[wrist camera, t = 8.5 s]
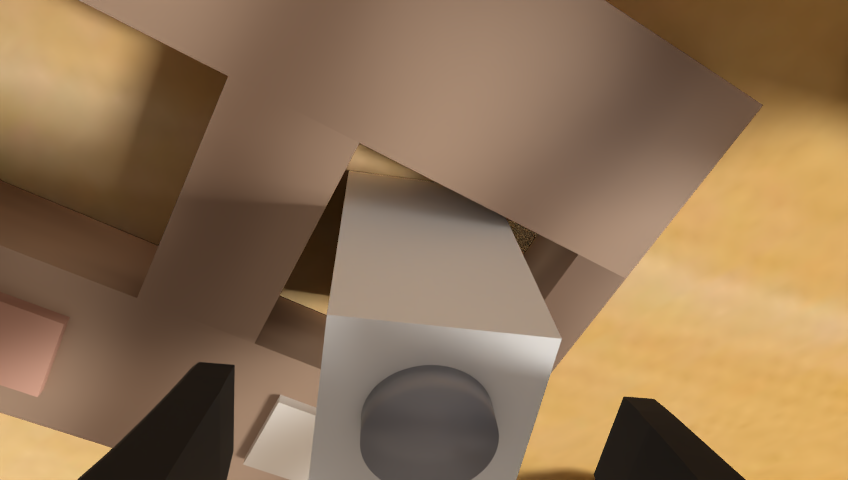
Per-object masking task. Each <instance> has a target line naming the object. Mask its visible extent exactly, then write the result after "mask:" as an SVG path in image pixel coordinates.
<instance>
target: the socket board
mask: <svg viewBox="0 0 848 480" xmlns="http://www.w3.org/2000/svg"><path fill="white" fill-rule="evenodd" d="M79 1H81V2H83V3H85V4H87V5H89V6H91V7H93V8H95V9H97V10H99V11H101V12H103V13H105V14H107V15H109V16H111V17H113V18H115V19H117V20H118V21H120V22H122V23H124V24H126V25H128V26H130V27H132V28H134V29H136V30H138V31H140V32H142V33H144V34H146V35H148V36H150V37H152V38H154V39H156V40H158V41H160V42H162V43H164V44H166V45H168V46H170V47H172V48H174V49H176V50H177V51H179V52H181V53H183V54H185V55H187V56H189V57H191V58H193V59H195V60H197V61H199V62H201V63H203V64H205V65H207V66H209V67H211V68H213V69H215V70H217V71H219V72H221V73H223V74H225V75H227V76H228V78H227V80H226V83H225V85H224V88H223V90H222V93H221V95H220V97H219V100H218V102H217V105H216V107H215V110H214V112H213V114H212V117H211V119H210V122H209V124H208V127H207V129H206V131H205V134H204V136H203V139H202V141H201V144H200V146H199V149H198V151H197V153H196V156H195V158H194V161H193V163H192V166H191V168H190V170H189V173H188V175H187V178H186V180H185V183H184V185H183V187H182V190H181V192H180V195H179V197H178V200H177V202H176V205H175V207H174V209H173V212H172V214H171V217H170V219H169V222H168V224H167V226H166V229H165V231H164V234H163V236H162V239H161V241H160V243H159V246H157V245H155V244H153V243H150V242H148V241H145V240H143V239H140V238H138V237H136V236H133V235H131V234H128V233H126V232H124V231H121V230H119V229H116V228H114V227H112V226H109V225H107V224H104V223H102V222H99V221H97V220H95V219H92V218H90V217H87V216H85V215H83V214H80V213H78V212H75V211H73V210H70V209H68V208H66V207H63V206H61V205H58V204H56V203H54V202H51V201H49V200H46V199H44V198H42V197H39V196H37V195H34V194H32V193H29V192H27V191H25V190H22V189H20V188H17V187H15V186H13V185H10V184H8V183H5V182H3V181H1V180H0V413H3V414H7V415H10V416H13V417H16V418H19V419H22V420H26V421H29V422H32V423H35V424H38V425H42V426H45V427H48V428H51V429H54V430H57V431H61V432H64V433H67V434H70V435H73V436H76V437H80V438H83V439H86V440H89V441H92V442H95V443H99V444H102V445H105V446H108V447H111V448H113V447H114V446H115V445H116V444H118V443H119V442H120V441H121V440H122V439H123V438H124V437H125V436H126V435H127V434H128V433H129V432H130V431H131V430H132V429H133V428H134V427H135V426H136V425H137V424H138V423H139V422H140V421H141V420H142V419H143V418H144V417H145V416H146V415H147V414H148V413H149V412H150V411H151V410H152V409H153V408H154V407H155V406H156V405H157V404H158V403H159V402H160V401H161V400H162V399H163V398H164V397H165V396H166V395H167V394H168V393H169V392H170V391H171V389H172V388H173V387H174V386H175V385H176V384H177V383H178V382H179V381H180V380H181V379H182V378H183V376H184V375H185V374H186V373H187V372H188V371H189V370H190V369H191V368H192V367H193V366H194V365H195V364H197V363H198V362H206V363H219V364H231V365H235V382H234V451H233V455H232V460H231V464H230V468H229V472H228V477H227V480H308V479H309V470H310V462H311V453H312V444H313V435H314V426H315V417H316V408H317V399H318V390H319V381H320V372H321V363H322V354H323V345H324V336H325V327H326V318H327V316H326V315H324V314H321V313H319V312H317V311H314V310H312V309H309V308H307V307H305V306H302V305H300V304H297V303H295V302H292V301H290V300H288V299H285V298H283V297H280V294H281V292H282V290H283V288H284V286H285V284H286V282H287V280H288V278H289V277H290V275H291V273H292V271H293V269H294V267H295V265H296V263H297V261H298V259H299V257H300V256H301V254H302V252H303V250H304V248H305V246H306V244H307V242H308V240H309V238H310V236H311V235H312V233H313V231H314V229H315V227H316V225H317V223H318V221H319V219H320V217H321V215H322V214H323V212H324V210H325V208H326V206H327V204H328V202H329V200H330V198H331V196H332V194H333V193H334V191H335V189H336V187H337V185H338V183H339V181H340V179H341V177H342V175H343V173H344V172H345V170H346V168H347V166H348V164H349V162H350V160H351V158H352V156H353V154H354V152H355V151H356V149H357V147H358V145H359V143H360V144H362V145H364V146H366V147H368V148H370V149H372V150H374V151H376V152H378V153H380V154H382V155H384V156H386V157H388V158H390V159H392V160H394V161H396V162H398V163H400V164H402V165H404V166H406V167H408V168H410V169H411V170H413V171H415V172H417V173H419V174H421V175H423V176H425V177H427V178H429V179H431V180H433V181H435V182H437V183H439V184H441V185H443V186H445V187H447V188H449V189H451V190H453V191H455V192H457V193H459V194H461V195H463V196H465V197H467V198H469V199H470V200H472V201H474V202H476V203H478V204H480V205H482V206H484V207H486V208H488V209H490V210H492V211H494V212H496V213H498V214H500V215H502V216H504V217H506V218H508V219H510V220H512V221H514V222H516V223H518V224H520V225H522V226H524V227H526V228H528V229H529V230H531V231H533V232H535V233H537V234H538V235H537V236H536V238H535V239H534V240H533V242H532V243H531V245H530V246H529V248H528V249H527V250H526V252H525V253H524V255H523V256H524V258H525V260H526V262H527V265H528V267H529V269H530V271H531V273H532V275H533V278H534V280H535V282H536V284H537V286H538V288H539V290H540V293H541V295H542V297H543V299H544V301H545V303H546V306H547V308H548V310H549V312H550V314H551V316H552V319H553V321H554V323H555V325H556V327H557V329H558V332H559V334H560V336H561V338H562V340H561V343H560V346H559V349H558V352H557V355H556V358H555V361H554V365H553V368H552V371H553V370H554V369H555V367H556V366H557V365H558V364H559V362H560V361H561V360H562V359H563V357H564V356H565V355H566V354H567V352H568V351H569V350H570V348H571V347H572V346H573V345H574V343H575V342H576V341H577V340H578V338H579V337H580V336H581V335H582V333H583V332H584V331H585V330H586V328H587V327H588V326H589V324H590V323H591V322H592V321H593V319H594V318H595V317H596V316H597V314H598V313H599V312H600V311H601V309H602V308H603V307H604V305H605V304H606V303H607V302H608V300H609V299H610V298H611V297H612V295H613V294H614V293H615V292H616V290H617V289H618V288H619V287H620V285H621V284H622V283H623V281H624V280H625V279H626V278H627V276H628V275H629V274H630V273H631V271H632V270H633V269H634V268H635V266H636V265H637V264H638V263H639V261H640V260H641V259H642V257H643V256H644V255H645V254H646V252H647V251H648V250H649V249H650V247H651V246H652V245H653V244H654V242H655V241H656V240H657V238H658V237H659V236H660V235H661V233H662V232H663V231H664V230H665V228H666V227H667V226H668V225H669V223H670V222H671V221H672V220H673V218H674V217H675V216H676V214H677V213H678V212H679V211H680V209H681V208H682V207H683V206H684V204H685V203H686V202H687V201H688V199H689V198H690V197H691V196H692V194H693V193H694V192H695V190H696V189H697V188H698V187H699V185H700V184H701V183H702V182H703V180H704V179H705V178H706V177H707V175H708V174H709V173H710V171H711V170H712V169H713V168H714V166H715V165H716V164H717V163H718V161H719V160H720V159H721V158H722V156H723V155H724V154H725V153H726V151H727V150H728V149H729V147H730V146H731V145H732V144H733V142H734V141H735V140H736V139H737V137H738V136H739V135H740V134H741V132H742V131H743V130H744V129H745V127H746V126H747V125H748V123H749V122H750V121H751V120H752V118H753V117H754V116H755V115H756V113H757V112H758V111H759V110H760V108H761V107H762V106H763V105H762V104H760V103H759V102H757V101H756V100H754V99H753V98H751V97H750V96H748V95H747V94H745V93H744V92H742V91H741V90H739V89H738V88H736V87H735V86H733V85H732V84H730V83H729V82H727V81H726V80H724V79H723V78H721V77H720V76H718V75H717V74H715V73H714V72H712V71H711V70H709V69H708V68H706V67H705V66H703V65H702V64H700V63H699V62H697V61H696V60H694V59H693V58H691V57H690V56H688V55H687V54H685V53H684V52H682V51H681V50H679V49H678V48H676V47H674V46H673V45H671V44H670V43H668V42H667V41H665V40H664V39H662V38H661V37H659V36H658V35H656V34H655V33H653V32H652V31H650V30H649V29H647V28H646V27H644V26H643V25H641V24H640V23H638V22H637V21H635V20H634V19H632V18H631V17H629V16H628V15H626V14H625V13H623V12H622V11H620V10H619V9H617V8H616V7H614V6H613V5H611V4H610V3H608V2H607V1H605V0H79ZM552 371H551V373H552Z"/></svg>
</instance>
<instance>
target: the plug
mask: <svg viewBox="0 0 848 480" xmlns="http://www.w3.org/2000/svg"><path fill="white" fill-rule="evenodd" d="M561 340H562V338H561V336H560V334H559V332H558V329H557V327H556V325H555V323H554V321H553V319H552V316H551V314H550V312H549V310H548V308H547V306H546V303H545V301H544V299H543V297H542V295H541V293H540V290H539V288H538V286H537V284H536V282H535V280H534V278H533V275H532V273H531V271H530V269H529V267H528V265H527V262H526V260H525V258H524V256H523V254H522V252H521V249H520V247H519V245H518V243H517V241H516V239H515V236H514V234H513V232H512V230H511V228H510V226H509V223H508V221H507V219H506V217H504V216H502V215H500V214H498V213H496V212H494V211H492V210H490V209H488V208H486V207H484V206H482V205H480V204H478V203H476V202H474V201H472V200H470V199H469V198H467V197H465V196H463V195H461V194H459V193H457V192H455V191H453V190H451V189H449V188H447V187H445V186H443V185H441V184H439V183H437V182H431V181H424V180H416V179H409V178H402V177H394V176H387V175H379V174H372V173H364V172H357V171H350V170H349V174H348V180H347V187H346V193H345V200H344V206H343V213H342V219H341V226H340V232H339V239H338V245H337V252H336V258H335V265H334V271H333V278H332V285H331V291H330V298H329V304H328V311H327V318H326V327H325V336H324V345H323V354H322V363H321V372H320V381H319V390H318V399H317V408H316V417H315V426H314V435H313V444H312V453H311V462H310V470H309V479H308V480H516V479H517V476H518V473H519V470H520V467H521V464H522V460H523V457H524V454H525V451H526V448H527V445H528V442H529V439H530V436H531V433H532V430H533V426H534V423H535V420H536V417H537V414H538V411H539V408H540V405H541V402H542V399H543V396H544V392H545V389H546V386H547V383H548V380H549V377H550V374H551V371H552V368H553V365H554V361H555V358H556V355H557V352H558V349H559V346H560V343H561Z"/></svg>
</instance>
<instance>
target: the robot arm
mask: <svg viewBox="0 0 848 480" xmlns="http://www.w3.org/2000/svg"><path fill="white" fill-rule="evenodd" d="M234 382H235V365H231V364H219V363H206V362H198V363H197V364H195V365H194V366H193V367H192V368H191V369H190V370H189V371H188V372H187V373H186V374H185V375H184V376H183V378H182V379H181V380H180V381H179V382H178V383H177V384H176V385H175V386H174V387H173V388H172V389H171V391H170V392H169V393H168V394H167V395H166V396H165V397H164V398H163V399H162V400H161V401H160V402H159V403H158V404H157V405H156V406H155V407H154V408H153V409H152V410H151V411H150V412H149V413H148V414H147V415H146V416H145V417H144V418H143V419H142V420H141V421H140V422H139V423H138V424H137V425H136V426H135V427H134V428H133V429H132V430H131V431H130V432H129V433H128V434H127V435H126V436H125V437H124V438H123V439H122V440H121V441H120V442H119V443H118V444H116V445H115V446H114V447H113V448H112V449H111V450H110V451H109V452H108V453H107V454H106V455H105V456H104V457H103V458H101V459H100V460H99V461H98V462H97V463H96V464H95V465H93V466H92V467H91V468H90V469H89V470H88V471H87V472H85V473H84V474H83V475H82V476H81V477H80V478H79V479H78V480H227V477H228V472H229V468H230V464H231V460H232V455H233V451H234ZM594 477H595V480H745V479H744V478H743V477H742V476H741V475H740V474H739V473H738V472H736V471H735V470H734V469H733V468H732V467H731V466H730V465H729V464H727V463H726V462H725V461H724V460H723V459H722V458H721V457H720V456H718V455H717V454H716V453H715V452H714V451H713V450H712V449H711V448H710V447H709V446H707V445H706V444H705V443H704V442H703V441H702V440H701V439H700V438H699V437H697V436H696V435H695V434H694V433H693V432H692V431H691V430H690V429H689V428H687V427H686V426H685V425H684V424H683V423H682V422H681V421H680V420H678V419H677V418H676V417H675V416H674V415H673V414H672V413H670V412H669V411H668V410H667V409H666V408H665V407H663V406H662V405H661V404H660V403H658V402H657V401H656V400H655V399H647V398H635V397H623V400H622V403H621V405H620V408H619V410H618V413H617V416H616V418H615V421H614V423H613V426H612V429H611V431H610V434H609V436H608V439H607V442H606V444H605V447H604V449H603V452H602V455H601V457H600V460H599V462H598V465H597V468H596V470H595V473H594Z"/></svg>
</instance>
